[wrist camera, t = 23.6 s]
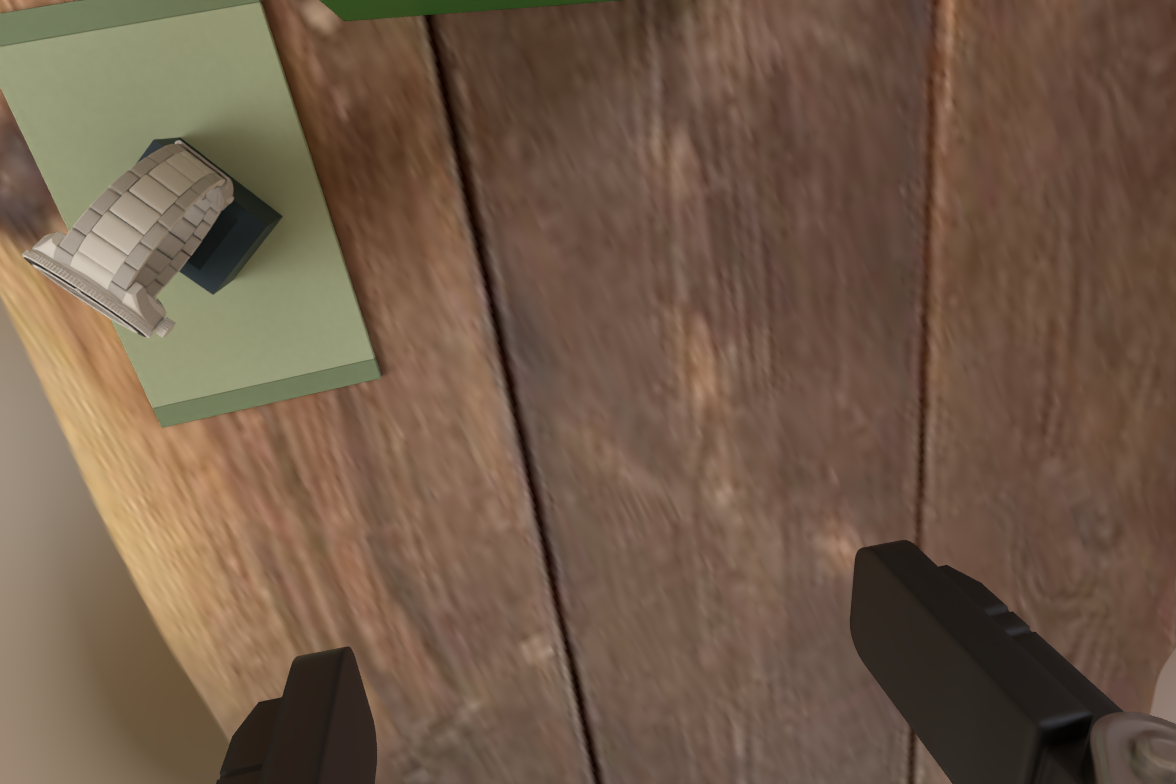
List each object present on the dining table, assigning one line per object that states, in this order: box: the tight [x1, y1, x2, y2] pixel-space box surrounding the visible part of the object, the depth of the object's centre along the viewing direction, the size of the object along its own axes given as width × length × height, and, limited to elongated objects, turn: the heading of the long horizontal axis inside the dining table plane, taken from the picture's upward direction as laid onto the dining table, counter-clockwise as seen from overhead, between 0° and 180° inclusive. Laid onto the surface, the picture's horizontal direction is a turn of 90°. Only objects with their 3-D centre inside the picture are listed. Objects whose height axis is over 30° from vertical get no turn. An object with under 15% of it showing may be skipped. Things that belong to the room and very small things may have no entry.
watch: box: [22, 137, 283, 338], centre depth 29 cm, size 6×8×11 cm
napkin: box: [0, 0, 381, 428], centre depth 34 cm, size 20×12×1 cm, turn 10°
